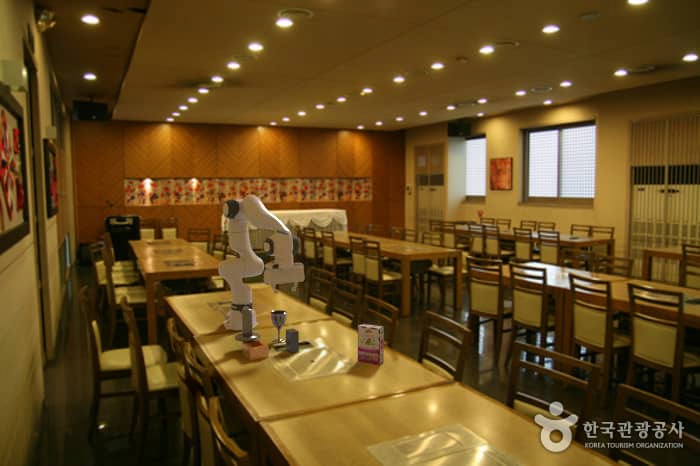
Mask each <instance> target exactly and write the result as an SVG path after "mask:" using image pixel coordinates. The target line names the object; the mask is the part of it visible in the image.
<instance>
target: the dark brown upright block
mask: <svg viewBox="0 0 700 466" xmlns="http://www.w3.org/2000/svg"><path fill="white" fill-rule="evenodd" d="M299 332H300V331H299V330H297V329H295V328H288V329H285V340H286V341H285V350H286V351H287V352H289V354H293V353H299V352H300V348H299V347H300V344H299V342H300V341H299V340H300V335H299Z"/></svg>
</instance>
